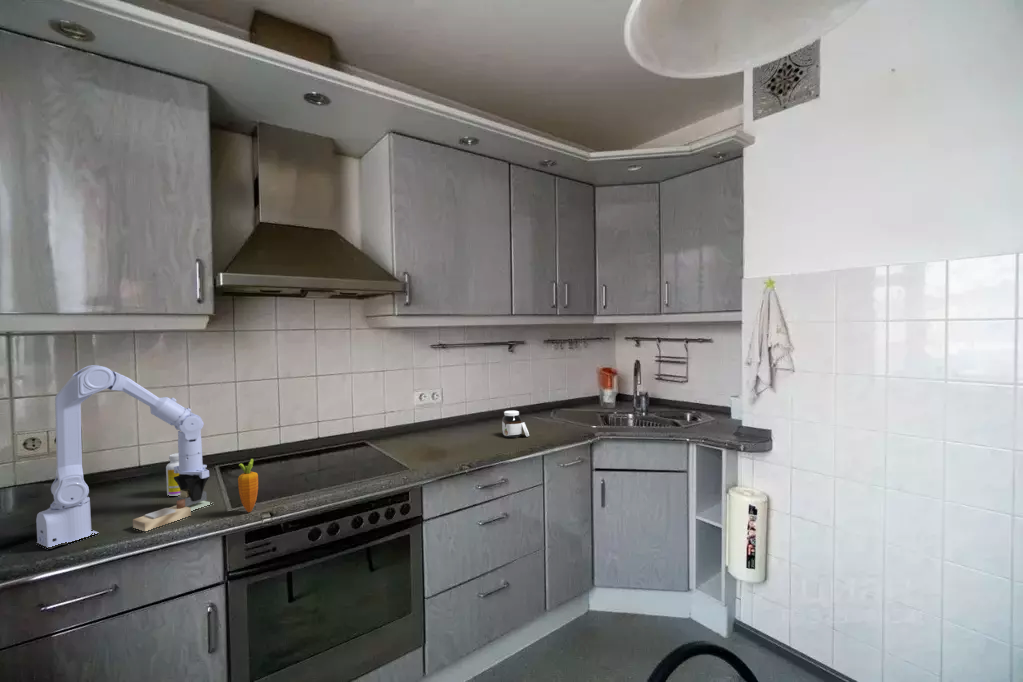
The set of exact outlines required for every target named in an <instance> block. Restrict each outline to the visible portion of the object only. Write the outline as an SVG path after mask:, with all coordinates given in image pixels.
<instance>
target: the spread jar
mask: <svg viewBox="0 0 1023 682" xmlns="http://www.w3.org/2000/svg"><path fill="white" fill-rule="evenodd" d="M503 414H504V416H503V417H502V421H501V422H502V423H501V425H502V426H501V427H502V434H503V437H504V438H506V439H517V438H516V437H518V438H520V437H521V435H522V433H523V432H524V434H525V437H526V438H527V437H530V433H529V430H528V428H527V424H526V422H525V421H524V422H523V421H522V418H521V416H520V411H518V410H505V411H503Z"/></svg>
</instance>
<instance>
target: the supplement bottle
mask: <svg viewBox="0 0 1023 682" xmlns="http://www.w3.org/2000/svg"><path fill="white" fill-rule="evenodd" d="M168 459H169V461H170V462H169V463H167V464H166V466H165V474H166V475H165V476H166V494H167V496H168V495H169V496H178V495H180V487H179V485H178V484H177V482H176V481H175V480H174V477H175V476H179V475H180V474H179V473H174V467H175V466H179V454H178V452H175V453H172V454H169V457H168ZM169 496H168V497H169Z"/></svg>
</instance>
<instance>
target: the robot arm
mask: <svg viewBox="0 0 1023 682" xmlns="http://www.w3.org/2000/svg"><path fill="white" fill-rule="evenodd" d="M106 389H108V390H111V391H115V392H118V391H119V392H123V393H125V394H127V395H129V396H131V397H132V398H134V399H136V400H137V401H139V402H141V403H143V404H145V405H146V406H148V407H149V408H150V414H151V415H153V416H154V417H157V418H158V419H160V420H161V421H163V422H165V423H166V424H168V425H170V426H173V427H174V428H175V429H176V430H177V437H178V439H177V446H178V447H177V450H178V452H177V453H178V454H179V466H175V467H174V473H179V474H180V475H179V476H175V477H174V480H175V481H176V482H177V484H178V485H179V487H180V490H182V489H185V488H187V489H190V493H191V498H192V501H193V502H194V501H198V500H201V497H202V493H203V491H204V489H205V486H206V483H208V480H209V478H210V470H208V469H207V466H208V465H207V464H204V463H203V442H202V440H203V439H202V433H201V432H202V429H203V428H204V424H205V423H204V421H203V418H202V417H201V416H200V415H199V414H196V413H194V412H192V409H191V408H190V407H184V406H183V405H181V404H180V403H178V402H177V401H178V400H177V399H176V398H175V397H171V398H170V397H168V396H163V397H159V396H157V395H156V394H154V393H152V392H151V391H150V390H148V389H146V388H145V387H143V386H142V385H140V384H139V383H137V382H136V381H134V380H133V379H131V378H130V377H127V376H126V375H123V374H122V373H119V372H117V371H113V370H111V369H110V368H108V367H107V366H101V365H98V364H93V365H92V364H91V365H87V366H85V367H83V368H81V369H80V370H78V371H75V372H74V373H73V374H72V376H71V377H70V378H69V379H68V381H66V383H65V384H64V385H63V386H62V387H61V389H60V390H58V392H57V393H56V395H55V398H54V402H55V403H54V405H55V407H54V408H55V409H54V410H55V415H54V416H55V449H56V450H55V451H56V470H55V479H54V481H53V482H52V483H51V487H50V491H51V495H52V496H53V501H52V503H50V504H49V505H50V507H48V508H47V509H45V510H42V511H40V512H38V513H37V515H36V519H35V520H36V521H35V523H36V539H37V542H36V543H39V544H41V545H43V546H46V547H47V548H48V547H52V546H55V545H58V544H61V543H65V542H67V543H68V542H72V541H75V540H79V539H81V538H84V537H88V536H90V535H91V534H92V533H93V534H92V535H94V533H95V534H97V533H99V532H98V531H96V530H93V529H92V517H91V514H92V513H91V499H90V497H89V494H90V489H89V486H88V484H87V483H86V481H85V479H84V469H83V455H82V454H83V453H82V452H83V451H82V449H83V447H82V445H83V444H82V412H81V411H82V406H81V405H82V403H83V402H84V401H86V400H88V399H89V398H90V397H92V396H93V395H94V394H97V393H99V392H102V391H103V390H106ZM91 530H93V531H91ZM99 534H100V533H99ZM53 539H55V541H53Z"/></svg>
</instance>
